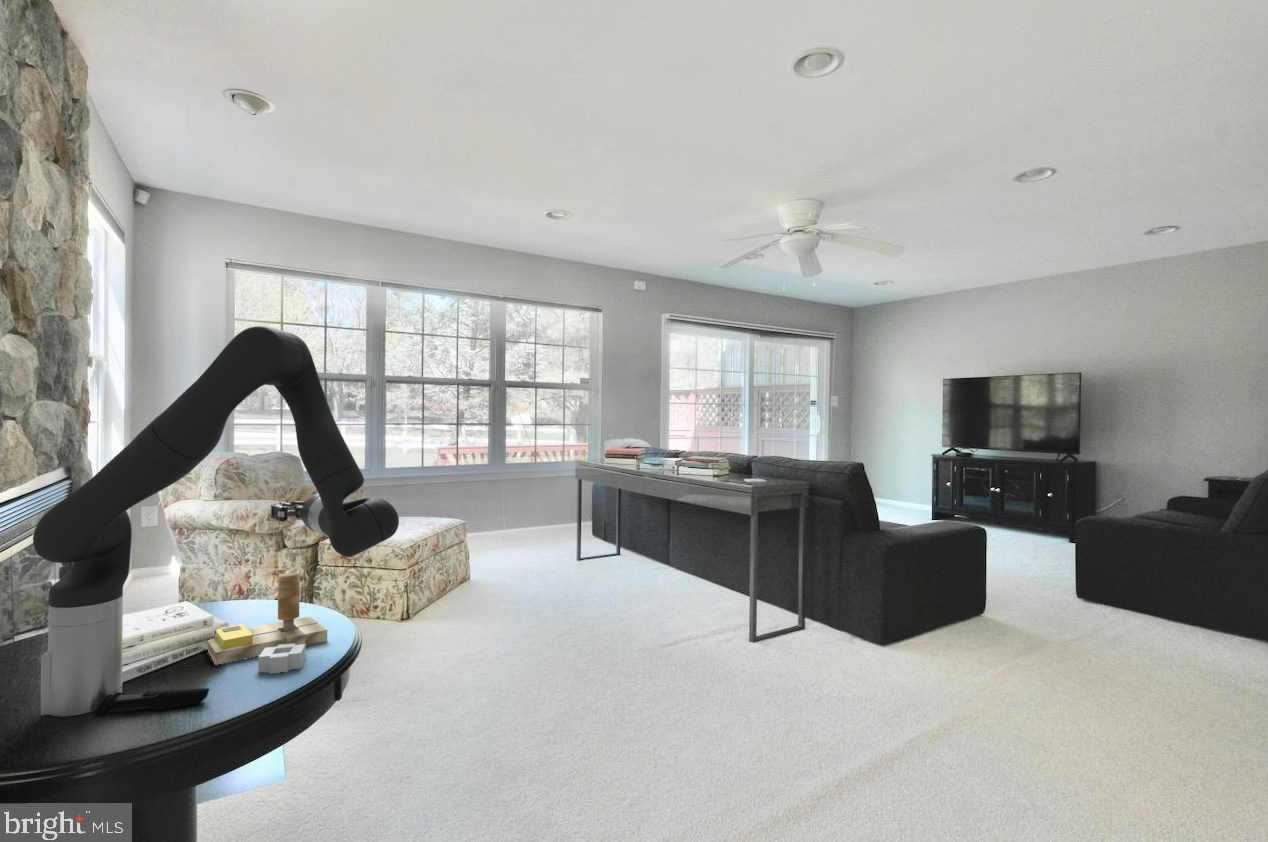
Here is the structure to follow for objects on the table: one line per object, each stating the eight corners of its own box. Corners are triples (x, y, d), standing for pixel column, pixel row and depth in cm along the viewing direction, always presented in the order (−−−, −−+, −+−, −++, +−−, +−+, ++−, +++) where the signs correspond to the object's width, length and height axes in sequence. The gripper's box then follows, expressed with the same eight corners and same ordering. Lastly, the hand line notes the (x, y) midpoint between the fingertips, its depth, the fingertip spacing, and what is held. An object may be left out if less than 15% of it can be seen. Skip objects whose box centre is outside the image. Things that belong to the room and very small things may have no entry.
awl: (280, 645, 131) (280, 578, 131) (275, 640, 134) (276, 574, 134) (301, 640, 134) (301, 575, 133) (296, 636, 136) (296, 571, 136)
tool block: (256, 675, 116) (257, 658, 116) (266, 661, 122) (266, 645, 122) (299, 670, 118) (299, 654, 118) (306, 657, 124) (306, 642, 124)
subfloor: (215, 665, 120) (215, 652, 120) (204, 648, 129) (204, 636, 129) (327, 641, 133) (327, 629, 133) (310, 627, 142) (310, 616, 142)
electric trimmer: (202, 712, 102) (202, 692, 102) (92, 718, 99) (93, 698, 99) (212, 702, 106) (213, 683, 106) (107, 708, 103) (108, 688, 103)
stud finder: (223, 648, 122) (223, 639, 122) (214, 636, 129) (214, 628, 129) (252, 642, 125) (252, 634, 125) (242, 631, 132) (242, 623, 132)
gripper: (371, 491, 118) (342, 484, 130) (287, 497, 109) (264, 488, 121) (370, 531, 118) (341, 520, 130) (287, 540, 109) (264, 527, 121)
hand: (304, 505), depth 126 cm, fingers open, 8 cm apart
